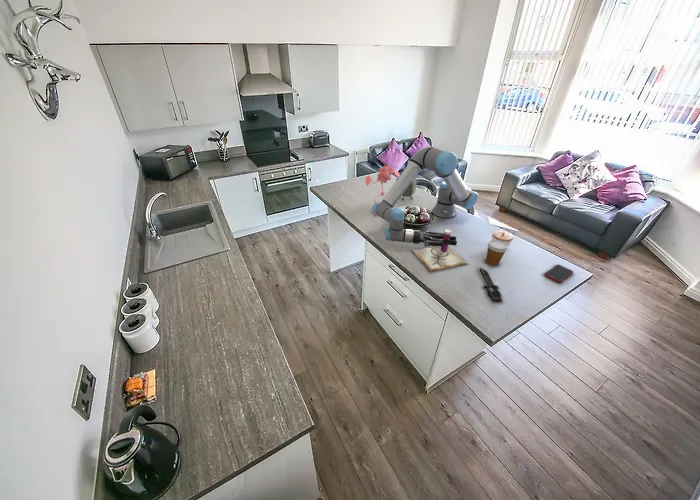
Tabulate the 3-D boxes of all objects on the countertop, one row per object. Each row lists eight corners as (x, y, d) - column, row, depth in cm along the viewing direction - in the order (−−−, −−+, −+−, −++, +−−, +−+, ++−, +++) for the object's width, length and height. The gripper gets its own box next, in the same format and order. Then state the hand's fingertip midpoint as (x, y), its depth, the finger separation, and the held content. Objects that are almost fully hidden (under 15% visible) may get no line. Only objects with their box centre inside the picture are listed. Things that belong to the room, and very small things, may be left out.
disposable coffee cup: (500, 259, 159) (507, 241, 152) (502, 269, 151) (509, 250, 144) (482, 256, 161) (487, 238, 155) (482, 266, 154) (488, 247, 147)
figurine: (362, 214, 205) (363, 165, 185) (391, 206, 215) (395, 159, 195) (373, 223, 194) (375, 172, 174) (404, 215, 204) (409, 165, 184)
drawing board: (445, 245, 171) (446, 243, 170) (466, 264, 155) (466, 262, 155) (412, 251, 166) (412, 249, 165) (430, 272, 150) (430, 270, 149)
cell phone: (573, 272, 148) (574, 271, 148) (559, 283, 142) (560, 281, 141) (557, 265, 154) (558, 263, 153) (543, 275, 147) (543, 273, 146)
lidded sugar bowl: (493, 239, 176) (498, 226, 170) (512, 246, 169) (517, 232, 164) (486, 246, 169) (490, 232, 164) (504, 253, 163) (509, 239, 158)
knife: (477, 268, 152) (477, 266, 152) (490, 269, 152) (490, 267, 151) (488, 301, 132) (489, 299, 131) (503, 302, 131) (504, 300, 130)
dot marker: (444, 248, 165) (448, 228, 158) (448, 251, 162) (452, 232, 155) (439, 249, 164) (443, 229, 157) (442, 253, 161) (446, 233, 154)
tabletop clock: (414, 198, 226) (418, 167, 212) (410, 203, 220) (414, 171, 206) (397, 195, 233) (400, 164, 219) (393, 199, 226) (395, 167, 212)
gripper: (412, 234, 171) (453, 239, 167) (411, 250, 158) (456, 255, 153) (414, 223, 167) (456, 227, 163) (413, 238, 154) (458, 243, 149)
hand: (456, 241), depth 158 cm, fingers closed on dot marker, 3 cm apart
